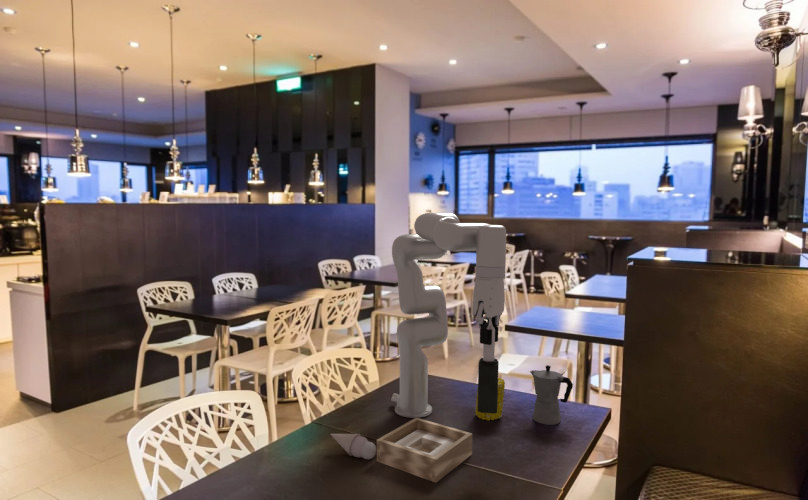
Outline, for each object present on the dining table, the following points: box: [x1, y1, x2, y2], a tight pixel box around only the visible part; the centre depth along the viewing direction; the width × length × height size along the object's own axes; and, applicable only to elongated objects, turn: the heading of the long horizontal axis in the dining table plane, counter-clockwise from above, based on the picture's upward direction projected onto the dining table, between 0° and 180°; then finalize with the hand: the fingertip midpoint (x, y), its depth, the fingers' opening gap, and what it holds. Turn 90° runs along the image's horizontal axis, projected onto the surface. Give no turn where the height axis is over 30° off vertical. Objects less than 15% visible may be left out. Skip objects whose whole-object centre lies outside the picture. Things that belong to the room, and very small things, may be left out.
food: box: [474, 377, 506, 422], centre depth 174 cm, size 14×11×9 cm
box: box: [376, 417, 473, 483], centre depth 145 cm, size 19×19×6 cm
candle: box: [477, 322, 499, 414], centre depth 138 cm, size 5×5×25 cm
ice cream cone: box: [330, 433, 377, 460], centre depth 147 cm, size 6×6×15 cm
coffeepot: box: [529, 364, 574, 426], centre depth 171 cm, size 15×9×18 cm, turn 43°
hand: (488, 341), depth 138 cm, fingers closed on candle, 3 cm apart
